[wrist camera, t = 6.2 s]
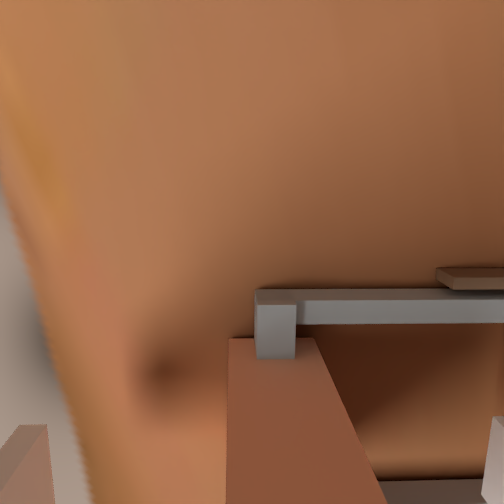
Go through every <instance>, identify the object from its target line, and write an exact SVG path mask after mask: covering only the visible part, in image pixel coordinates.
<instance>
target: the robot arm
mask: <svg viewBox="0 0 504 504" xmlns="http://www.w3.org/2000/svg"><path fill="white" fill-rule="evenodd" d="M481 495H482V496H483V498H484V499H485V501H486V502H487V503H488V504H504V416H493V418H492V425H491V431H490V438H489V445H488V451H487V458H486V465H485V471H484V478H483V485H482V491H481ZM0 504H55V498H54V489H53V479H52V470H51V461H50V451H49V442H48V432H47V425H19V426H18V427H17V429H16V430H15V431H14V432H13V434H12V435H11V436H10V437H9V439H8V440H7V441H6V443H5V444H4V445H3V446H2V448H1V449H0Z"/></svg>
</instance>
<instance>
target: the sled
mask: <svg viewBox="0 0 504 504" xmlns="http://www.w3.org/2000/svg"><path fill="white" fill-rule="evenodd" d="M418 323H504V289H464V290H453V289H255V313H254V338H237V339H228V398H227V457H226V504H488V503H487V502H486V501H485V499H484V498H483V496H482V495H481V491H482V485H483V479H461V480H421V481H382V482H378V481H377V479H376V477H375V474H374V472H373V470H372V468H371V465H370V463H369V461H368V459H367V456H366V454H365V452H364V450H363V447H362V445H361V443H360V441H359V438H358V436H357V434H356V432H355V430H354V427H353V425H352V423H351V421H350V418H349V416H348V414H347V412H346V409H345V407H344V405H343V403H342V400H341V398H340V396H339V394H338V391H337V389H336V387H335V385H334V382H333V380H332V378H331V376H330V374H329V371H328V369H327V367H326V365H325V362H324V360H323V358H322V356H321V353H320V351H319V349H318V347H317V344H316V342H315V340H314V338H295V335H296V324H418Z"/></svg>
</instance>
